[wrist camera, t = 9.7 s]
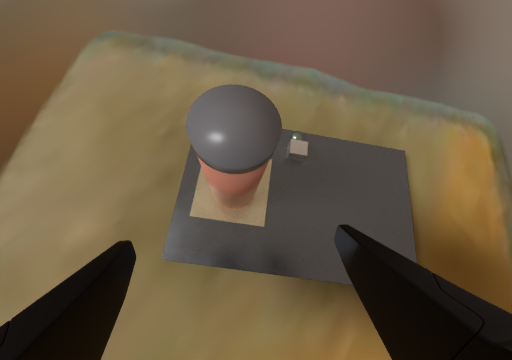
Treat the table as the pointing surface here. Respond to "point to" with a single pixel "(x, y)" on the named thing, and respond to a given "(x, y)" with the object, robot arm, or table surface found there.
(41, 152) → the table surface
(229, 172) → the post
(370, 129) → the table surface
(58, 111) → the table surface
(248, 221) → the breaker panel
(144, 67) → the table surface
